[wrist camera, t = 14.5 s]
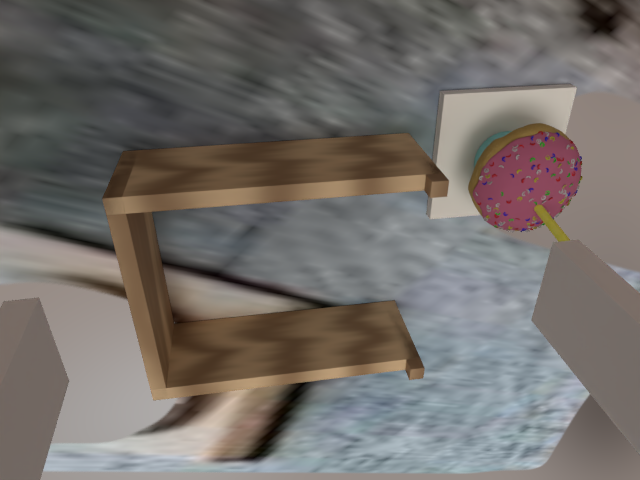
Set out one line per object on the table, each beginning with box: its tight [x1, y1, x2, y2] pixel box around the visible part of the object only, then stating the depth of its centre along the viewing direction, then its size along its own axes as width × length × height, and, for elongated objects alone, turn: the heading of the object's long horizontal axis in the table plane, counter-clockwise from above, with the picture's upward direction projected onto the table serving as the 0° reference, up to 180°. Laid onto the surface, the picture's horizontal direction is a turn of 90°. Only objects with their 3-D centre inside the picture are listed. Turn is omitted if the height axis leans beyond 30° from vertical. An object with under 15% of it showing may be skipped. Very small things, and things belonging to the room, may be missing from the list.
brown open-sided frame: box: [102, 133, 449, 400], centre depth 42 cm, size 22×18×9 cm
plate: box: [426, 84, 577, 219], centre depth 44 cm, size 11×11×1 cm
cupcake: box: [468, 123, 582, 242], centre depth 39 cm, size 9×8×12 cm
